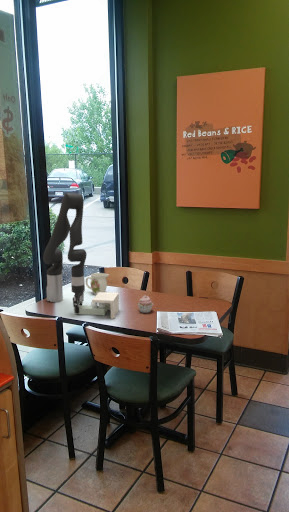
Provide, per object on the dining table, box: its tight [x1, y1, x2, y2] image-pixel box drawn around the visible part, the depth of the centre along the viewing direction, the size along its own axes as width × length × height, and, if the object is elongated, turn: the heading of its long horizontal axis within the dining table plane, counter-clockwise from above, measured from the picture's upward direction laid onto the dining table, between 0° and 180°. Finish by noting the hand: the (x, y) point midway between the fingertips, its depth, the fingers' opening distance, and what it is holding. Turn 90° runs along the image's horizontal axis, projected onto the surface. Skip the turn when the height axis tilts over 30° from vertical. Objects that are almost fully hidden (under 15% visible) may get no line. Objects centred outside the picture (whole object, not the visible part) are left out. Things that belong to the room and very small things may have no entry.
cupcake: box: [137, 295, 154, 314], centre depth 242 cm, size 9×9×10 cm
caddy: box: [73, 301, 108, 316], centre depth 239 cm, size 18×6×6 cm, turn 82°
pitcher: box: [85, 272, 110, 296], centre depth 279 cm, size 11×18×14 cm, turn 68°
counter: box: [91, 291, 120, 320], centre depth 238 cm, size 12×16×10 cm
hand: (78, 311), depth 240 cm, fingers closed on caddy, 6 cm apart
